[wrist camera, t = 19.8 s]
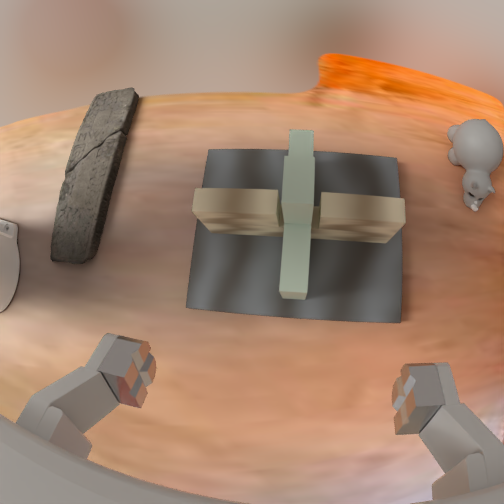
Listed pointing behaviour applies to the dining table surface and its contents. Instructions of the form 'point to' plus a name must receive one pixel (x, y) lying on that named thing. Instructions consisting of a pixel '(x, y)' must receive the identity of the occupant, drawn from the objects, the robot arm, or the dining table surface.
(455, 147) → the chubby cartoon animal
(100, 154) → the stone slab
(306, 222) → the sage slotted plate
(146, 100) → the dining table surface
